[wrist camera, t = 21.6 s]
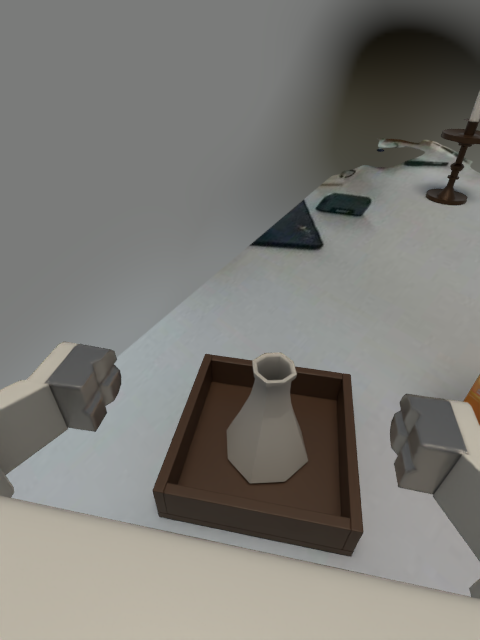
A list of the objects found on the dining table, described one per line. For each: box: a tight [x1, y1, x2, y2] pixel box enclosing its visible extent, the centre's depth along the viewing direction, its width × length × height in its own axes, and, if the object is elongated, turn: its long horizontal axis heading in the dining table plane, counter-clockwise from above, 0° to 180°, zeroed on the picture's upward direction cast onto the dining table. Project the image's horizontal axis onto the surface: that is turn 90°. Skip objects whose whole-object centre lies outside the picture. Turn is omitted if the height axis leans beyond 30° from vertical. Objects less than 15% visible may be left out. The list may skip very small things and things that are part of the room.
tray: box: [153, 354, 363, 556], centre depth 32 cm, size 15×15×4 cm
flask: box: [227, 353, 308, 483], centre depth 29 cm, size 7×7×10 cm
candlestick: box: [426, 91, 480, 205], centre depth 78 cm, size 11×11×35 cm
